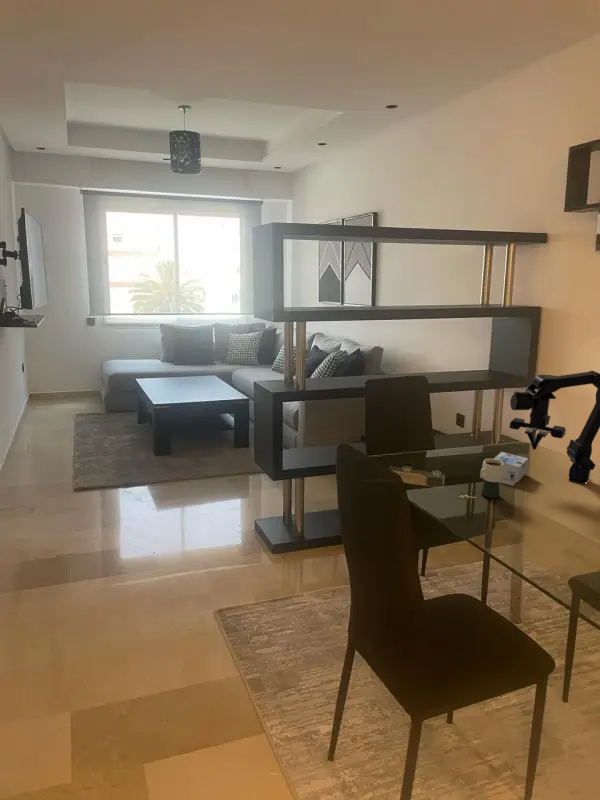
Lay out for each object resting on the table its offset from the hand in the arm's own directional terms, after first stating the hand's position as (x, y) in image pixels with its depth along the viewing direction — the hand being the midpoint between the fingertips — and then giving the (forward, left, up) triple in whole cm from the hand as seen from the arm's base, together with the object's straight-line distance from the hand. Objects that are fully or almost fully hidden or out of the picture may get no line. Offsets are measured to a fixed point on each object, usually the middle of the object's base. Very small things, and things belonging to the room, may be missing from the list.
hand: (534, 449), depth 223 cm
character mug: (+8, +21, -13) cm, 26 cm away
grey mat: (+10, 0, -13) cm, 16 cm away
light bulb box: (+3, 0, -9) cm, 10 cm away
